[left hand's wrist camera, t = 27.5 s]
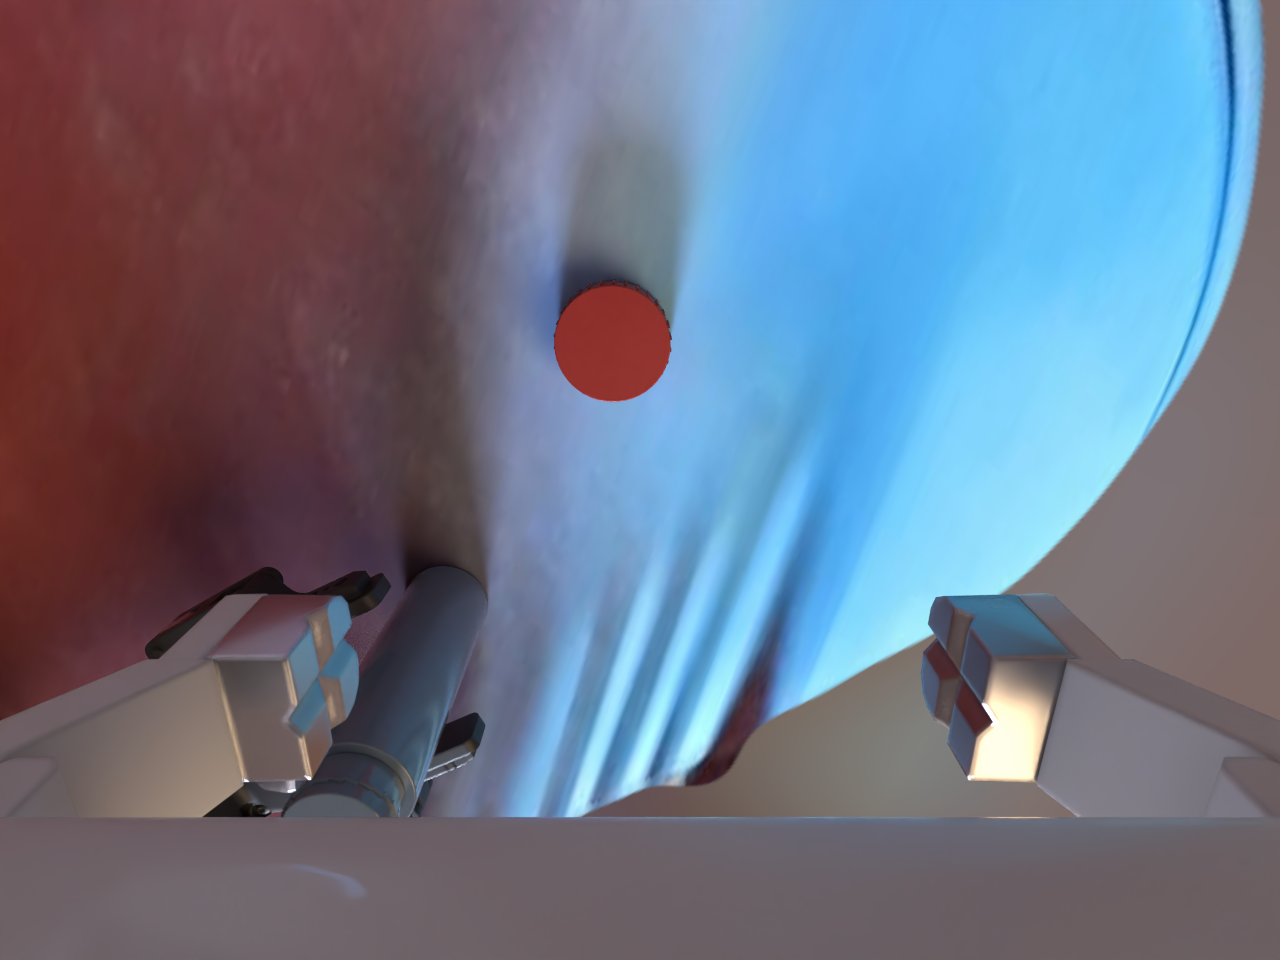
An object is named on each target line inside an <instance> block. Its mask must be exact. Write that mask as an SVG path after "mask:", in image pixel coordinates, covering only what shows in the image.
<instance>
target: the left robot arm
mask: <svg viewBox="0 0 1280 960" xmlns="http://www.w3.org/2000/svg"><path fill="white" fill-rule="evenodd" d="M351 625H352V622H351V617H350V612H349V607H348V603H347V602H346V601H345V599H344V598H343V597H342V596H331V595H278V594H271V595H268V594H235V595H227V596H225V597H224V598H223V599H222V600H221V601H220V602H219V603H218V604H216V605H215V606H214V607H213V608H212V609H211V610H210V611H209V612H208V613H207V614H206V615H205V616H204V617H203V618H202V619H201V620H200V621H198V622H197V623H196V624H195V625H194V626H193V627H192V628H191V629H190V630H189V631H188V632H187V633H186V634H185V635H184V636H183V637H181V638H180V639H179V640H178V641H177V642H176V643H175V644H174V645H173V646H172V647H171V648H170V649H169V650H168V651H167V652H166V653H165V654H163V655H162V656H161V657H160V658H159V659H146V660H143V661H141V662H138V663H136V664H134V665H131V666H129V667H127V668H124V669H122V670H119V671H117V672H115V673H112V674H110V675H107V676H105V677H103V678H100V679H98V680H95V681H93V682H91V683H88V684H86V685H84V686H81V687H79V688H76V689H74V690H72V691H69V692H67V693H64V694H62V695H60V696H57V697H55V698H53V699H50V700H48V701H45V702H43V703H41V704H38V705H36V706H33V707H31V708H29V709H26V710H24V711H21V712H19V713H17V714H14V715H12V716H10V717H7V718H5V719H2V720H0V960H1280V720H1277V719H1275V718H1272V717H1270V716H1268V715H1265V714H1263V713H1260V712H1258V711H1256V710H1253V709H1251V708H1249V707H1246V706H1244V705H1242V704H1239V703H1237V702H1234V701H1232V700H1230V699H1227V698H1225V697H1222V696H1220V695H1218V694H1215V693H1213V692H1211V691H1208V690H1206V689H1203V688H1201V687H1199V686H1196V685H1194V684H1192V683H1189V682H1187V681H1184V680H1182V679H1180V678H1177V677H1175V676H1172V675H1170V674H1168V673H1165V672H1163V671H1161V670H1158V669H1156V668H1153V667H1151V666H1149V665H1146V664H1144V663H1142V662H1139V661H1137V660H1134V659H1121V658H1120V657H1119V656H1118V655H1117V654H1116V653H1115V652H1113V651H1112V650H1111V649H1110V648H1109V647H1108V646H1107V645H1106V644H1105V643H1104V642H1103V641H1102V640H1101V639H1100V638H1099V637H1098V636H1096V635H1095V634H1094V633H1093V632H1092V631H1091V630H1090V629H1089V628H1088V627H1087V626H1086V625H1085V624H1084V623H1083V622H1082V621H1081V620H1080V619H1079V618H1077V617H1076V616H1075V615H1074V614H1073V613H1072V612H1071V611H1070V610H1069V609H1068V608H1067V607H1066V606H1065V605H1064V604H1063V603H1062V602H1061V601H1059V600H1058V599H1057V598H1056V597H1055V596H1052V595H1049V594H1021V595H1014V594H1013V595H971V596H942V597H936V598H935V600H934V602H933V605H932V607H931V610H930V616H929V621H928V625H929V626H930V628H931V629H932V631H933V633H934V634H935V636H936V637H937V638H936V639H935V640H934V641H933V642H932V643H931V645H930V646H929V647H928V648H927V649H926V650H925V651H924V652H923V659H922V667H921V680H922V691H923V695H924V699H925V702H926V705H927V708H928V710H929V711H930V713H931V715H932V717H933V719H934V720H935V721H937V722H938V723H940V724H941V725H943V726H944V727H946V728H948V729H949V736H948V742H947V744H948V745H949V747H950V749H951V751H952V752H953V754H954V756H955V758H956V759H957V761H958V763H959V764H960V766H961V768H962V770H963V771H964V773H965V775H966V777H967V778H968V780H981V781H1018V782H1037V784H1036V785H1037V786H1038V787H1039V788H1041V789H1042V790H1044V791H1045V792H1046V793H1047V794H1049V795H1050V796H1051V797H1053V798H1054V799H1055V800H1057V801H1058V802H1059V803H1060V804H1062V805H1063V806H1064V807H1066V808H1067V809H1069V810H1070V811H1071V812H1072V813H1074V814H1075V815H1076V816H1078V817H203V816H204V815H205V814H207V813H208V812H209V811H211V810H212V809H213V808H215V807H216V806H217V805H218V804H220V803H221V802H222V801H224V800H225V799H226V798H228V797H229V796H230V795H232V794H233V793H234V792H236V791H237V790H238V789H240V788H241V787H242V786H243V785H244V784H243V782H262V781H297V780H312V779H313V777H314V775H315V773H316V772H317V770H318V768H319V766H320V765H321V763H322V761H323V759H324V758H325V756H326V754H327V752H328V751H329V749H330V747H331V745H332V744H333V742H332V736H331V729H332V728H334V727H336V726H337V725H339V724H340V723H342V722H343V721H345V720H346V719H347V717H348V715H349V713H350V711H351V709H352V707H353V706H354V702H355V698H356V694H357V689H358V685H359V665H358V658H357V652H356V651H355V650H354V649H353V648H352V647H351V646H350V645H349V643H348V642H347V641H346V640H345V639H344V638H343V637H344V636H345V634H346V633H347V631H348V629H349V628H350V626H351Z"/></svg>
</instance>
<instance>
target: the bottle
mask: <svg viewBox="0 0 1280 960" xmlns="http://www.w3.org/2000/svg"><path fill="white" fill-rule="evenodd" d="M487 610H488V601H487V596H486V593H485V591H484V589H483V587H482V586H481V584H480V583H479V582H478V581H477V580H476V579H475V578H474V577H473V576H472V575H470V574H469V573H467V572H465V571H463V570H461V569H458V568H455V567H449V566H438V567H433V568H429V569H426V570H424V571H422V572H421V573H419V574H418V575H417V576H416V577H415V578H414V579H413V580H412V581H411V583H410V584H409V586H408V587H407V589H406V591H405V592H404V594H403V596H402V597H401V599H400V601H399V602H398V604H397V606H396V607H395V609H394V611H393V612H392V614H391V615H390V617H389V619H388V620H387V622H386V624H385V625H384V627H383V629H382V630H381V632H380V634H379V635H378V637H377V639H376V640H375V642H374V643H373V645H372V647H371V648H370V650H369V652H368V653H367V655H366V657H365V658H364V660H363V662H362V663H361V665H360V667H359V685H358V689H357V694H356V698H355V702H354V706H353V707H352V709H351V711H350V713H349V715H348V717H347V719H346V720H345V721H343V722H342V723H340V724H339V725H337V726H336V727H334V728H332V729H331V736H332V742H333V744H332V745H331V747H330V749H329V751H328V752H327V754H326V756H325V758H324V759H323V761H322V763H321V765H320V766H319V768H318V770H317V772H316V773H315V775H314V777H313V779H312V780H297V781H295V790H296V791H295V792H294V793H293V794H292V795H291V796H290V798H289V799H288V801H287V803H286V804H285V806H284V807H283V809H282V814H281V817H410V815H411V814H412V812H413V810H414V807H415V805H416V802H417V799H418V797H419V794H420V791H421V789H422V786H423V783H424V781H425V778H426V775H427V773H428V770H429V767H430V764H431V762H432V759H433V756H434V754H435V751H436V748H437V746H438V743H439V740H440V738H441V735H442V732H443V730H444V727H445V724H446V722H447V719H448V716H449V713H450V711H451V708H452V705H453V703H454V700H455V697H456V695H457V692H458V689H459V687H460V684H461V681H462V679H463V676H464V673H465V671H466V668H467V665H468V662H469V660H470V657H471V654H472V652H473V649H474V646H475V644H476V641H477V638H478V636H479V633H480V630H481V628H482V625H483V622H484V620H485V617H486V614H487Z"/></svg>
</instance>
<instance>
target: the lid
mask: <svg viewBox="0 0 1280 960" xmlns="http://www.w3.org/2000/svg"><path fill="white" fill-rule="evenodd" d="M627 282H628V281H625V282H621V281H616V279H613V281H605V282H604V280H601V282H600V283H597V284H594V285H592V284H590V285H589V286H588V287H587V288H586V289H584V290H583V291H582V289H581V290H580V291H579V292H578V293H577V295H576V296H575V297H574V298H573V297H572V298H571V299H570V300H569V302H568V306H567V307H564V309H563V310H562V312H561V314H562V315H561V317H560V318H559V320H558V321H557V323H556V325H557V327H556V332H555V334H554V337H555V339H554V349H555V354H556V359H557V362H558V364H559V367H560V369H561V371H562V373H563V374H564V376H565V377H566V379H567V380H568V381H569V382H570V383H571V384H572V385H573V386H574V387H575V388H576V389H577V390H579V391H580V392H582V393H583V394H585V395H587V396H589V397H591V398H594V399H597V400H601V401H608V402H619V401H625V400H629V399H632V398H635V397H637V396H639V395H641V394H643V393H644V392H646V391H647V390H649V389H650V388H651V387H652V386H653V385H654V384H655V383H656V382H657V381H658V379H659V378H660V377H661V375H662V374H663V372H664V370H665V368H666V365H667V364H668V359H669V355H670V352H671V346H670V340H672V337H671V333H670V332H669V329H668V328H670V326H669V322H668V320H667V321H666V318H665V312H664V310H663V309H662V310H661V308H660V306H659V305H658V301H657V299H656V300H654V298H652V297H651V296H650V295H649V292H648V291H647V292H645V291H644V290H643V289H641V288H639V285H636V286H635V285H632V284H630V283H627Z"/></svg>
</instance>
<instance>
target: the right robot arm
mask: <svg viewBox="0 0 1280 960" xmlns="http://www.w3.org/2000/svg"><path fill="white" fill-rule="evenodd" d="M390 587H391V585H390V583H389V582H388V580H387V579H386V578H385V576H384V575H383V573H380V574H377V575H375V576H373V577H369V575H368V574H367V572H366V571H355V572H352V573H350V574H347V575H345V576H343V577H341V578H339V579H337V580H335V581H333V582H330V583H328V584H326V585H324V586H322V587H320V588H318V589H315V590H313V591H311V592H309V593H298V592H295V591H293V590H291V589H290V588H288V587H287V586H286V585H284V584H283V577H282V575H281V573H280V572H279V571H278V570H276V569H274V568H271V567H264V568H262V569H260V570H258V571H256V572H255V573H253V574H251V575H249V576H247V577H246V578H244V579H242V580H240V581H239V582H237V583H235V584H233V585H232V586H230V587H228V588H226V589H224V590H223V591H221V592H219V593H217V594H216V595H214V596H212V597H210V598H209V599H207V600H205V601H203V602H201V603H200V604H198V605H196V606H194V607H193V608H191V609H189V610H187V611H186V612H184V613H182V614H181V615H179V616H178V617H177V618H176V619H175V620H174V621H173V622H171V623H170V624H169V625H168V626H167V627H166V628H164V629H163V630H162V631H161V632H160V633H159V634H158V635H157V636H156V637H155V638H153V639H152V640H151V641H150V642H149V643H148V644H147V645H146V647H145V652H146V655H147V656H148V658H149V659H159V658H160V657H161V656H162V655H163V654H165V653H166V652H167V651H168V650H169V649H170V648H171V647H172V646H173V645H174V644H175V643H176V642H177V641H178V640H179V639H180V638H181V637H183V636H184V635H185V634H186V633H187V632H188V631H189V630H190V629H191V628H192V627H193V626H194V625H195V624H196V623H197V622H198V621H200V620H201V619H202V618H203V617H204V616H205V615H206V614H207V613H208V612H209V611H210V610H211V609H212V608H213V607H214V606H215V605H216V604H218V603H219V602H220V601H221V600H222V599H223V598H224V597H225V596H227V595H235V594H268V595H271V594H278V595H331V596H342V597H343V598H344V599H345V601H346V602H347V603H348V607H349V612H350V617H351V619H352V618H354V617H357V616H359V615H361V614H363V613H365V612H368V611H370V610H371V609H373V608H375V607H376V606H377V605H378V604H379V603H380V602H381V601H382V600H383V598H384V597H385V595H386V594H387V592H388V591H389V589H390ZM484 729H485V723H484V722H483V720H482V719H481V718H480V716H479V715H478V713H472V714H469V715H467V716H464V717H462V718H460V719H457V720H455V721H453V722H450V723H448V724H445V727H444V730H443V732H442V735H441V738H440V740H439V743H438V746H437V748H436V751H435V754H434V756H433V759H432V762H431V764H430V767H429V770H428V773H427V775H426V778H425V781H424V783H423V786H422V789H421V791H420V794H419V797H418V799H417V802H416V805H415V807H414V810H413V812H412V814H411V815H410V817H421V815H422V812H423V809H424V806H425V803H426V801H427V798H428V795H429V792H430V789H431V787H432V783H433V782H432V778H434V777H437V776H439V775H442V774H444V773H447V772H449V771H451V770H454V769H456V768H459V767H461V766H464V765H466V764H468V763H469V762H470V761H471V760H472V759H473V758H474V756H475V753H476V749H477V748H478V747H479V745H480V742H481V739H482V736H483V732H484ZM243 784H244V785H243V786H242V787H241V788H240V789H238V790H237V791H236V792H234V793H233V794H232V795H230V796H229V797H228V798H226V799H225V800H224V801H222V802H221V803H220V804H218V805H217V806H216V807H215V808H213V809H212V810H211V811H209V812H208V813H207V814H205V815H204V816H203V817H266V816H268V815H270V814H272V813H274V812H281V811H282V809H283V807H284V806H285V804H286V803H287V801H288V799H289V798H290V796H291V795H292V794H293V793H294V792H295V791H296V790H295V781H262V782H243Z"/></svg>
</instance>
